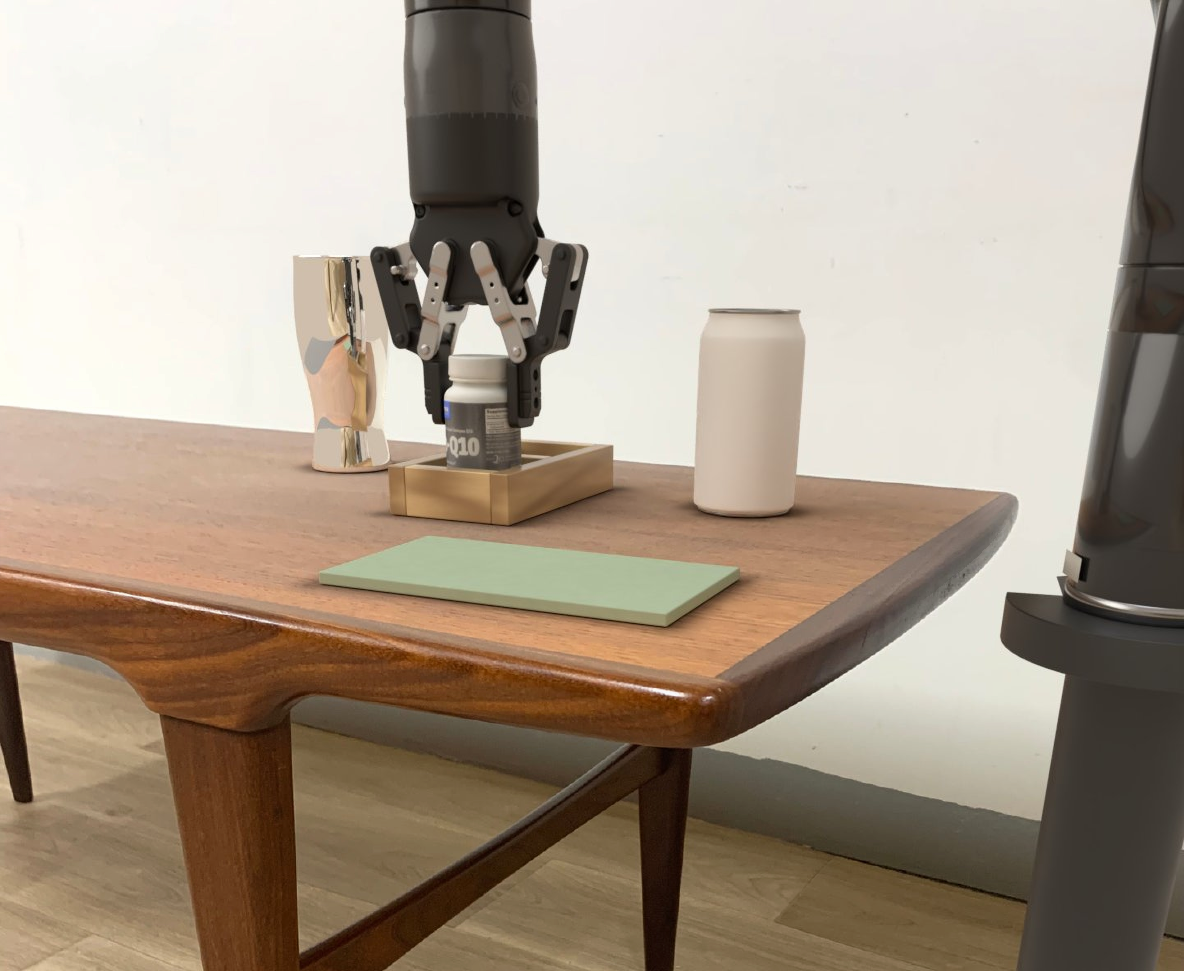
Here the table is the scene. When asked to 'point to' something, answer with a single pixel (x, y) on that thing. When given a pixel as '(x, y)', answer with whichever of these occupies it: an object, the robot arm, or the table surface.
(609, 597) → the mat
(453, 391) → the pill bottle
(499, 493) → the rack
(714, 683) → the table surface
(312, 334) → the beer glass
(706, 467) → the can
